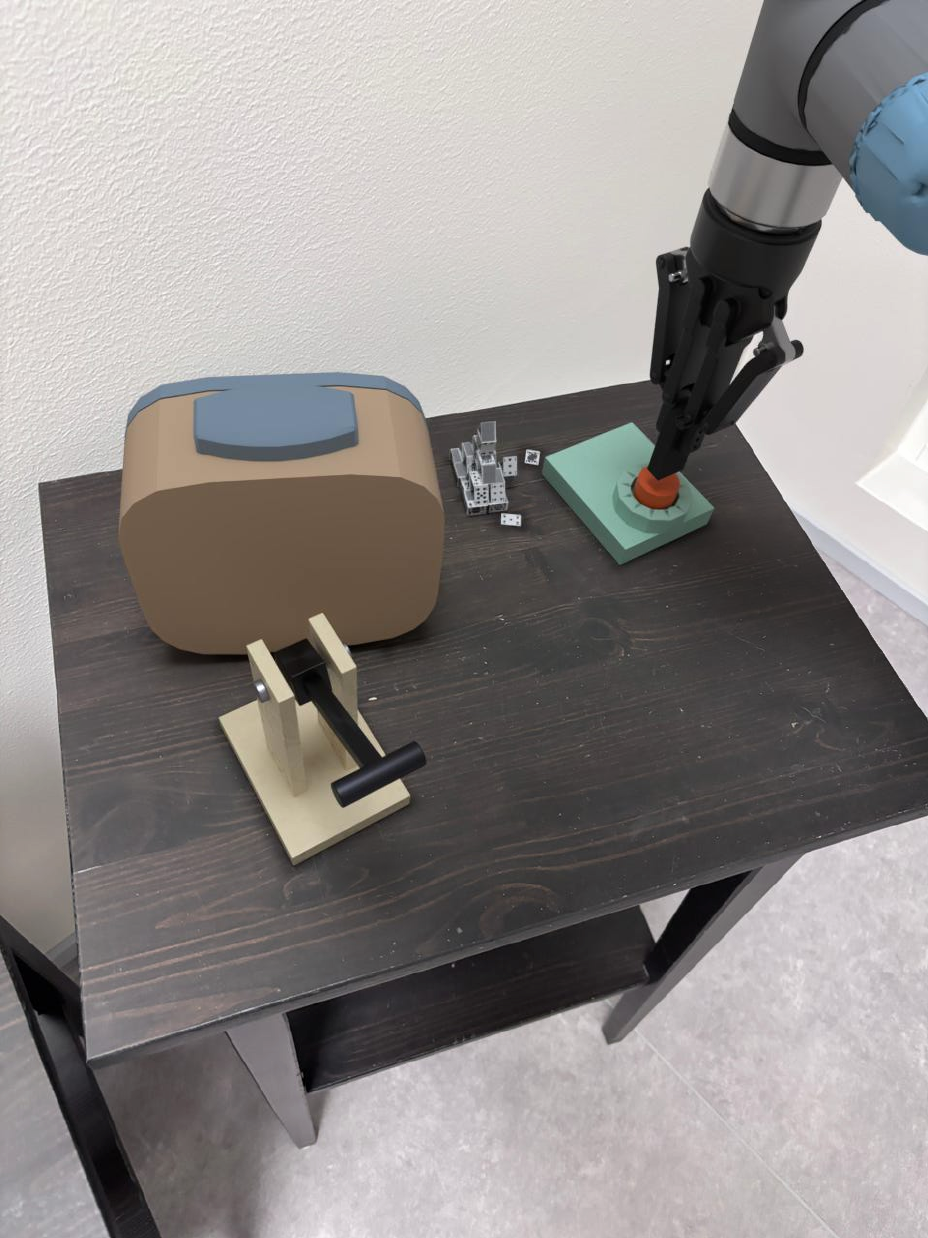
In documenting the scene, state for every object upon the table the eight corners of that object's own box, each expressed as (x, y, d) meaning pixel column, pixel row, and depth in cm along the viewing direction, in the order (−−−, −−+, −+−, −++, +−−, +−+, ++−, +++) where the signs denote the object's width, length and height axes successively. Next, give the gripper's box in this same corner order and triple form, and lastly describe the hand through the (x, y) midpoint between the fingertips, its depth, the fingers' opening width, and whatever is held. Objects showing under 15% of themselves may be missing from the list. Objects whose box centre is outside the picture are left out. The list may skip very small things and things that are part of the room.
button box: (708, 526, 82) (723, 496, 79) (621, 567, 78) (632, 538, 75) (626, 438, 87) (636, 407, 84) (541, 473, 84) (548, 442, 81)
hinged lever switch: (409, 804, 65) (419, 702, 52) (293, 866, 61) (274, 773, 49) (331, 675, 70) (323, 556, 58) (221, 727, 67) (188, 611, 55)
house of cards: (564, 521, 81) (581, 460, 74) (468, 532, 79) (477, 470, 73) (538, 448, 86) (551, 385, 79) (447, 457, 84) (454, 393, 78)
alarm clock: (416, 551, 77) (431, 345, 60) (432, 646, 72) (453, 451, 55) (165, 569, 74) (102, 357, 56) (162, 669, 69) (92, 470, 51)
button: (682, 500, 79) (688, 486, 77) (650, 515, 77) (655, 501, 76) (657, 473, 80) (662, 459, 79) (624, 487, 79) (629, 473, 77)
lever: (429, 776, 49) (424, 745, 48) (346, 819, 47) (338, 789, 46) (334, 657, 58) (327, 628, 56) (260, 690, 56) (251, 661, 54)
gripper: (883, 242, 55) (750, 506, 74) (740, 137, 61) (651, 406, 80) (794, 274, 52) (680, 539, 72) (653, 161, 58) (583, 434, 77)
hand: (665, 469), depth 76 cm, fingers closed
